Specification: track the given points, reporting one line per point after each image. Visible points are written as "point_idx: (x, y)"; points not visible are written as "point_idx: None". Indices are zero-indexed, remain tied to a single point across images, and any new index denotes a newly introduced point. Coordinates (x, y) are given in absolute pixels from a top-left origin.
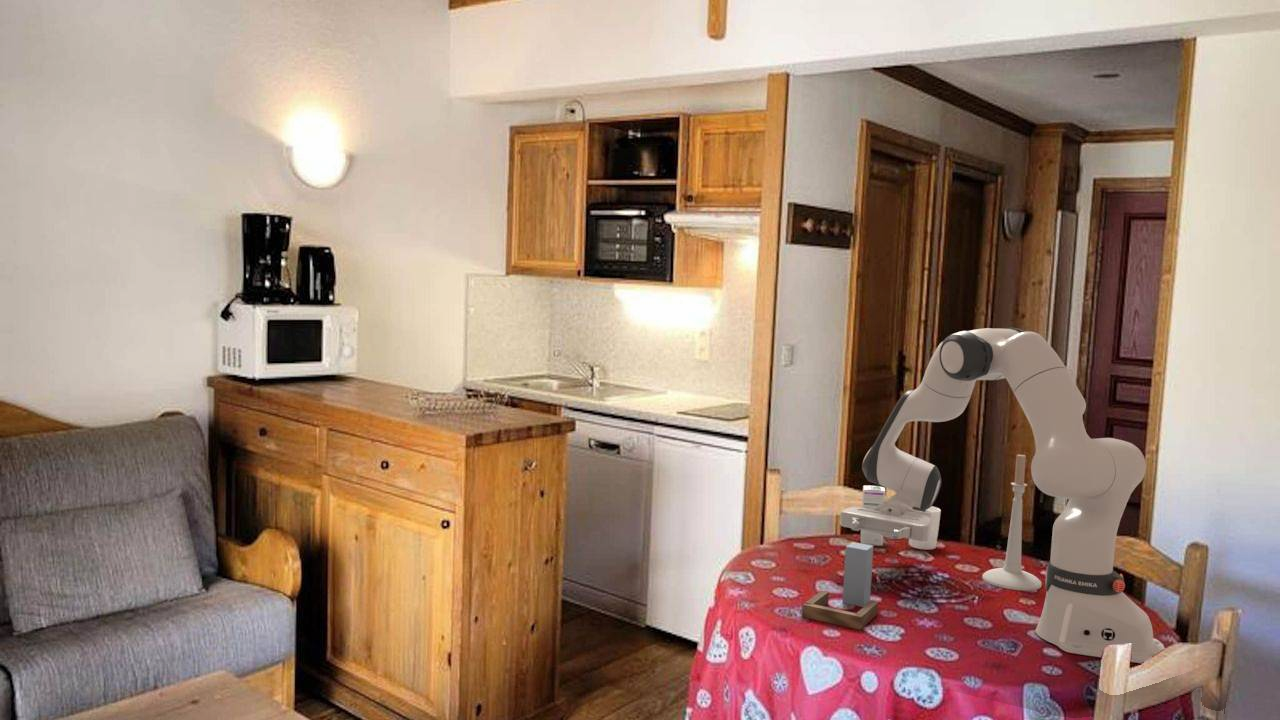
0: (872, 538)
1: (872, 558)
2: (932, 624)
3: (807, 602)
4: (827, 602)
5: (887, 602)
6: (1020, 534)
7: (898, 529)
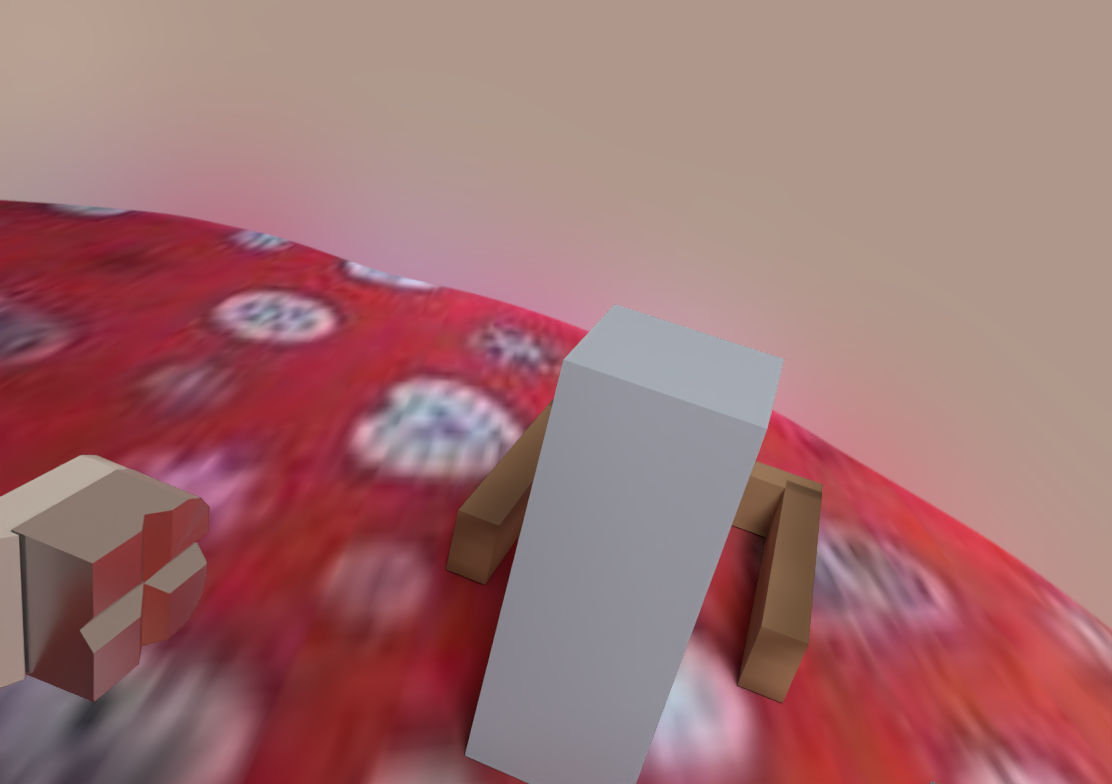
0: None
1: (537, 466)
2: (167, 472)
3: (812, 500)
4: (742, 669)
5: (325, 749)
6: None
7: (74, 513)
